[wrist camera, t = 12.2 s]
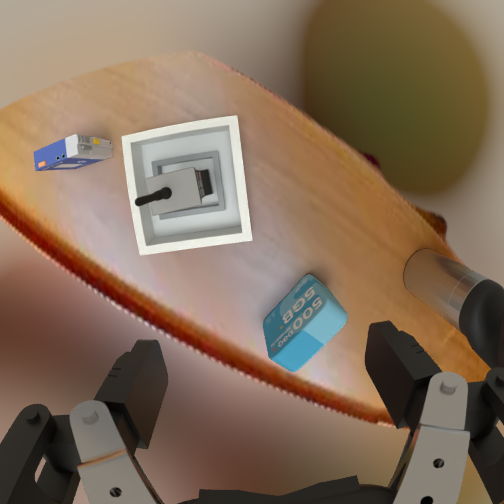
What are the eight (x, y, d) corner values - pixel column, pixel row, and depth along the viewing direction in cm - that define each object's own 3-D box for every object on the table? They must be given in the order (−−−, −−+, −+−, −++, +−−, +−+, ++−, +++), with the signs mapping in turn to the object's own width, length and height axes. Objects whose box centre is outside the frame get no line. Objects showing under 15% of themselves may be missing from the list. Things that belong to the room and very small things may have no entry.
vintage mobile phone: (214, 193, 43) (187, 219, 19) (181, 200, 43) (119, 235, 19) (209, 168, 42) (176, 163, 18) (176, 176, 42) (107, 182, 18)
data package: (308, 270, 48) (330, 301, 36) (326, 286, 49) (351, 318, 37) (261, 321, 50) (268, 362, 38) (280, 335, 51) (292, 376, 39)
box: (236, 122, 41) (237, 115, 35) (249, 231, 46) (252, 240, 40) (135, 140, 41) (121, 136, 35) (151, 245, 45) (140, 255, 39)
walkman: (75, 169, 41) (34, 171, 29) (73, 153, 40) (31, 151, 29) (114, 156, 41) (78, 153, 30) (112, 140, 40) (76, 132, 29)
